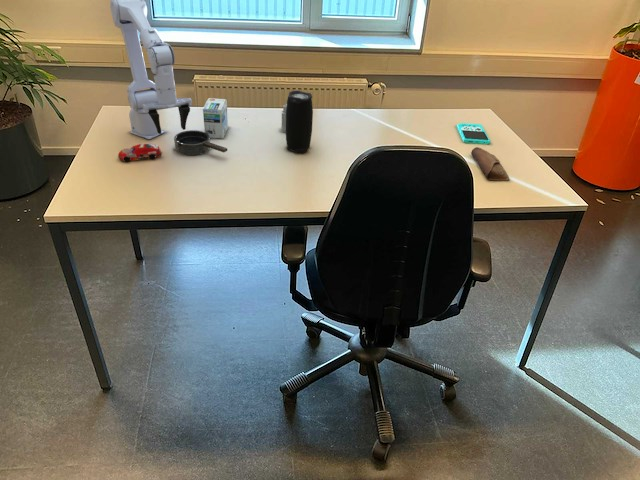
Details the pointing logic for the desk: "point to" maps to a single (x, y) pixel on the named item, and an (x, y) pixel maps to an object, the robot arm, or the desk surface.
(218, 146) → the pan handle
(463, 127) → the handheld game console
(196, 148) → the pan
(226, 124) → the light bulb box
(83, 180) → the desk surface
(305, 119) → the portable speaker
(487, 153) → the sunglasses case
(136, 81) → the robot arm
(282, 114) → the power adapter
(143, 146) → the race car
